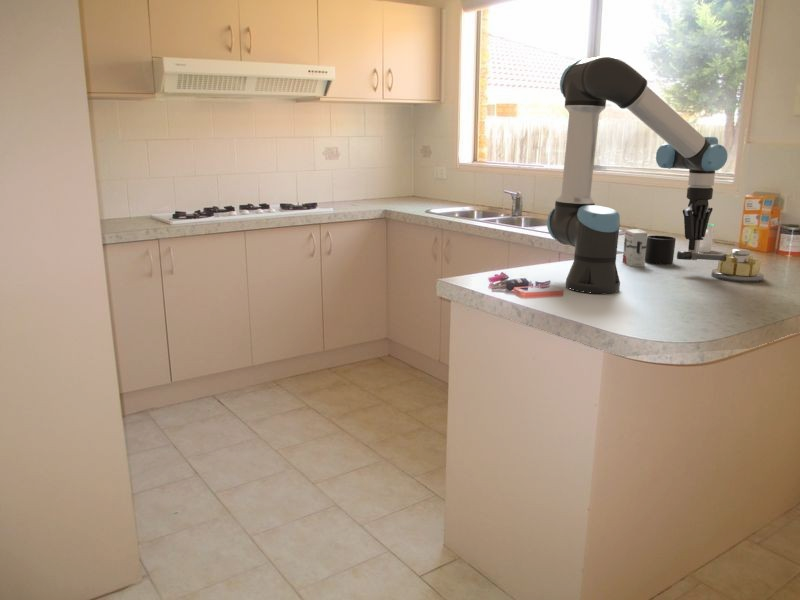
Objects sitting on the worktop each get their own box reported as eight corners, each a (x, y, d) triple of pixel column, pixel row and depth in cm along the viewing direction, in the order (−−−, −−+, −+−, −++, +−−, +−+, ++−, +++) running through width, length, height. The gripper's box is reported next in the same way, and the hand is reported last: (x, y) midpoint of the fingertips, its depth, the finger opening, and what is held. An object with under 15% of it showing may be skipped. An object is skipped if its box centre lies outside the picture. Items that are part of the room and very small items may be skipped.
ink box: (621, 261, 237) (624, 228, 234) (635, 262, 237) (638, 229, 234) (630, 266, 229) (634, 232, 226) (644, 266, 229) (648, 232, 226)
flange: (733, 283, 204) (737, 254, 202) (701, 273, 218) (704, 246, 216) (774, 281, 208) (779, 253, 205) (740, 272, 222) (744, 245, 220)
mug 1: (652, 258, 245) (655, 233, 243) (678, 264, 235) (681, 238, 233) (633, 259, 241) (636, 235, 239) (659, 265, 231) (662, 239, 229)
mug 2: (716, 254, 257) (719, 227, 255) (694, 253, 258) (697, 226, 256) (707, 249, 269) (711, 223, 266) (686, 248, 270) (689, 222, 267)
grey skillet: (762, 276, 206) (764, 258, 205) (678, 271, 211) (681, 254, 210) (752, 269, 217) (755, 252, 215) (673, 265, 222) (675, 248, 221)
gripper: (701, 184, 218) (693, 255, 224) (677, 186, 211) (670, 259, 217) (723, 186, 212) (714, 259, 218) (699, 188, 205) (690, 263, 211)
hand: (692, 259), depth 217 cm, fingers closed
